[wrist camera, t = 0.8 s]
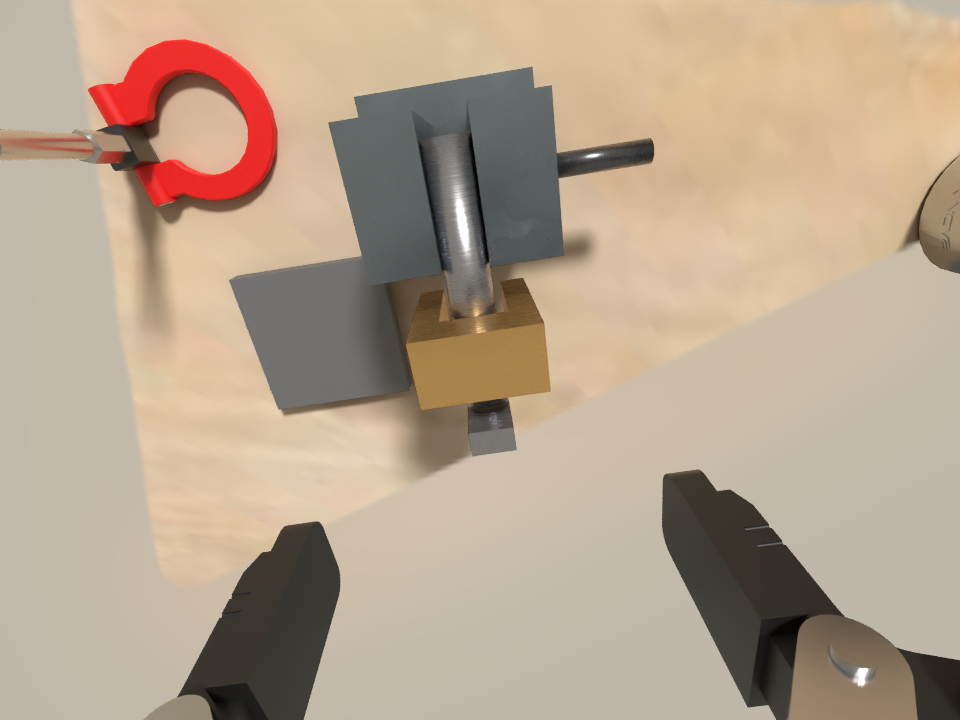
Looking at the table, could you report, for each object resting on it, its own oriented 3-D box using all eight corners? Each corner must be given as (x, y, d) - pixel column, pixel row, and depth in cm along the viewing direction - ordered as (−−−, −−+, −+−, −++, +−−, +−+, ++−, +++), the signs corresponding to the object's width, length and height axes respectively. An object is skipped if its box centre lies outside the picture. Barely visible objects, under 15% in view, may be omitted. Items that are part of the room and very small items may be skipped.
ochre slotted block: (522, 277, 24) (543, 323, 18) (529, 330, 25) (550, 391, 19) (421, 293, 24) (405, 343, 18) (432, 345, 25) (421, 410, 19)
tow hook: (237, 23, 26) (88, 75, 27) (69, -86, 14) (-193, 12, 15) (303, 175, 30) (170, 220, 30) (211, 189, 18) (-5, 261, 18)
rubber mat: (380, 253, 31) (377, 257, 30) (411, 383, 35) (409, 390, 34) (237, 275, 32) (229, 280, 30) (284, 401, 36) (278, 409, 35)
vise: (612, 58, 27) (754, -32, 14) (618, 315, 34) (718, 421, 20) (361, 100, 27) (265, 53, 14) (416, 345, 34) (385, 468, 21)
